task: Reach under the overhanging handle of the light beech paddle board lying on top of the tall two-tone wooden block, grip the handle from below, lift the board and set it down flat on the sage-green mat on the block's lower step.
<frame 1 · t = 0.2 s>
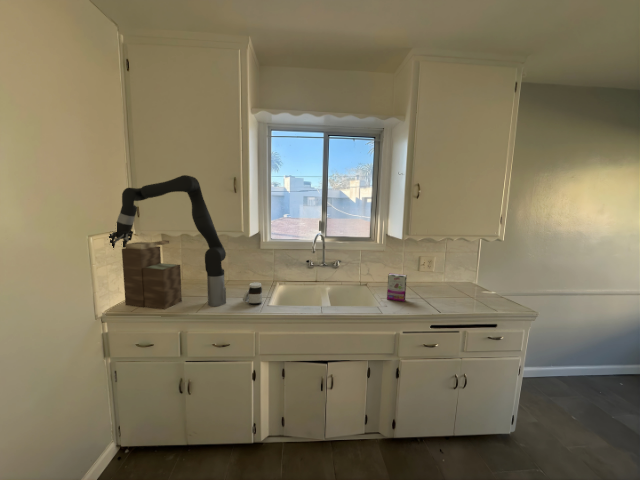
hand: (117, 248, 152), 31 cm above the table, tool tilted 20°, fingers open, 8 cm apart
candy bar box: (395, 299, 170), on the table
spread jar: (252, 302, 158), on the table
two-tone wooden block: (144, 302, 153), on the table
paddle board: (141, 247, 149), point 32 cm above the table, touching two-tone wooden block
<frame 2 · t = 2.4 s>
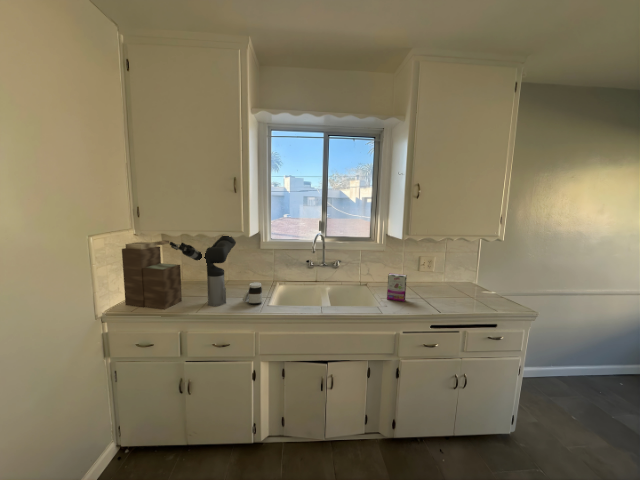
hand: (175, 243, 177), 31 cm above the table, tool pointing upward, fingers open, 8 cm apart
nothing on the table moved.
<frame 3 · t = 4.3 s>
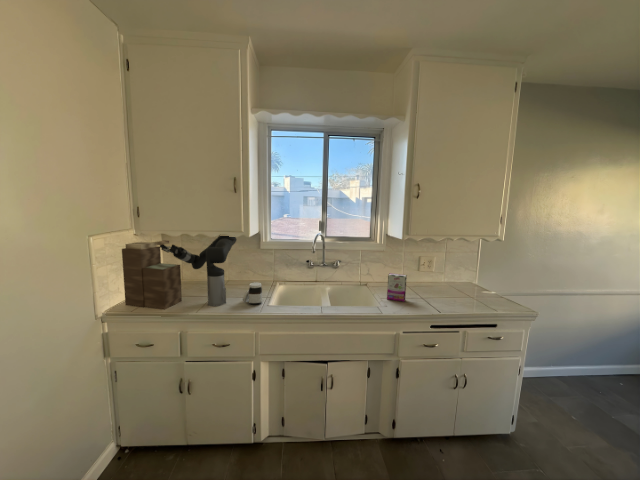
hand: (166, 245, 167), 31 cm above the table, tool pointing upward, fingers open, 8 cm apart
nothing on the table moved.
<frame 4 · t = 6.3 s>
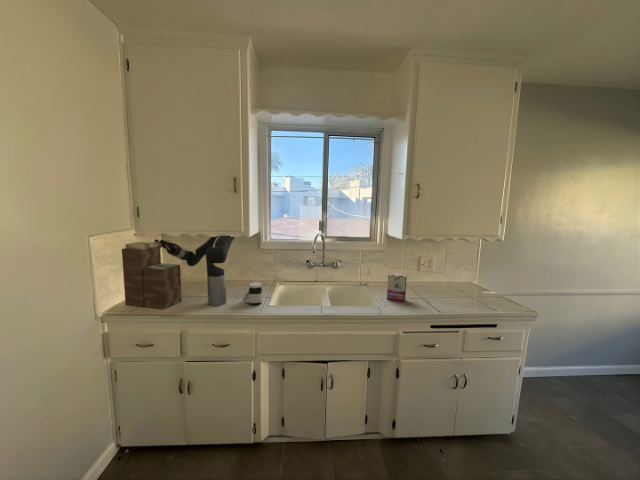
hand: (158, 240, 161), 34 cm above the table, tool pointing upward, fingers closed on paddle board, 3 cm apart
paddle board: (141, 247, 149), point 32 cm above the table, touching gripper, two-tone wooden block
everything else where it was.
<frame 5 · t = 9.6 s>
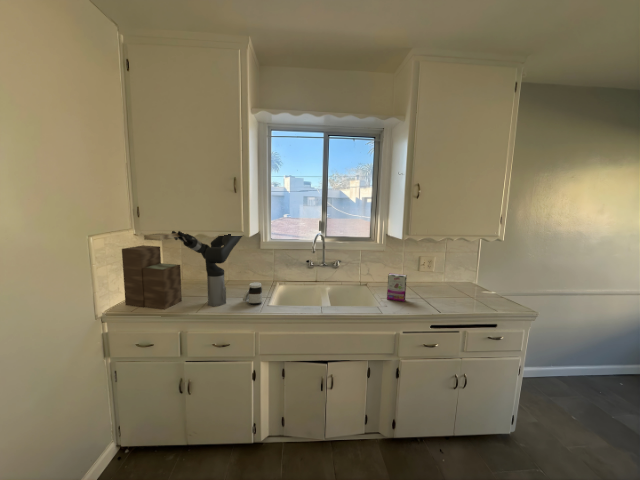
hand: (175, 232, 158), 40 cm above the table, tool pointing upward, fingers closed on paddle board, 3 cm apart
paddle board: (159, 238, 146), point 38 cm above the table, touching gripper
everything else where it was.
when the fingers open (26 cm above the table, at t = 13.2 s): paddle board drops 1 cm, resting on two-tone wooden block.
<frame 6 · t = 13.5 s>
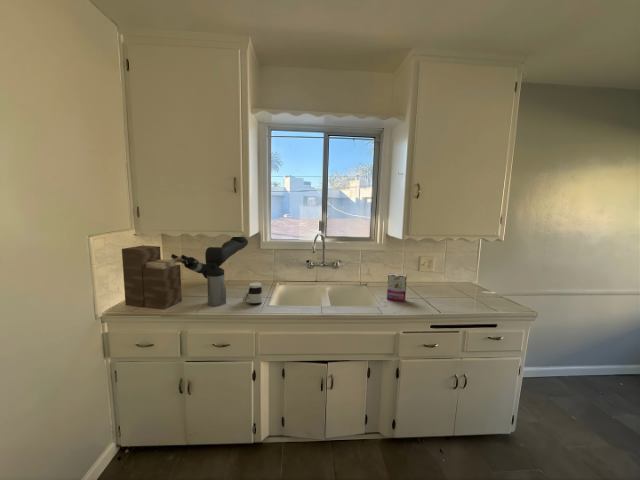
hand: (177, 256, 160), 26 cm above the table, tool pointing upward, fingers open, 6 cm apart
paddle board: (161, 266, 148), point 22 cm above the table, touching two-tone wooden block
everything else where it was.
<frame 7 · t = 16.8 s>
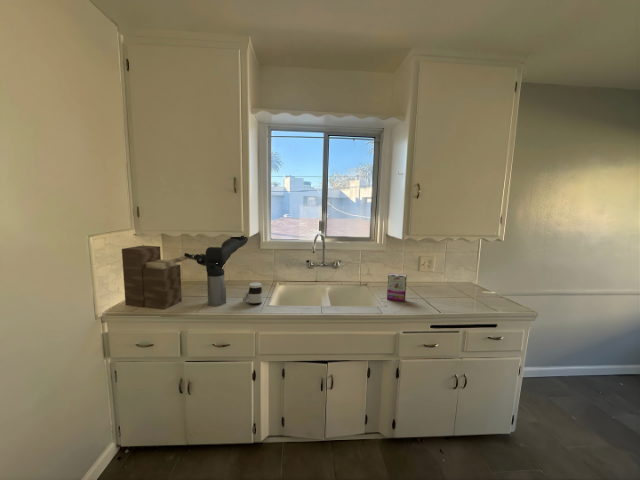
hand: (190, 255, 173), 24 cm above the table, tool pointing upward, fingers open, 8 cm apart
nothing on the table moved.
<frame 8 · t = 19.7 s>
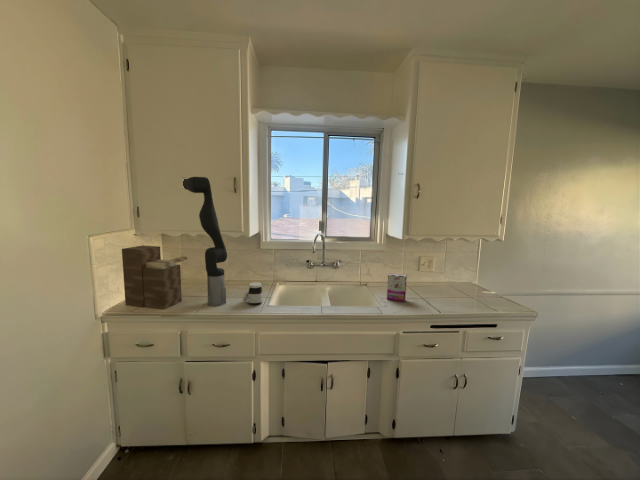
hand: (179, 232, 178), 38 cm above the table, tool pointing down, fingers open, 8 cm apart
nothing on the table moved.
at the end: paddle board inside the target area on the two-tone wooden block (0.1 cm from its centre), point 22.3 cm above the two-tone wooden block's base; the gripper is holding nothing; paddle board tilted 0° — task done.
